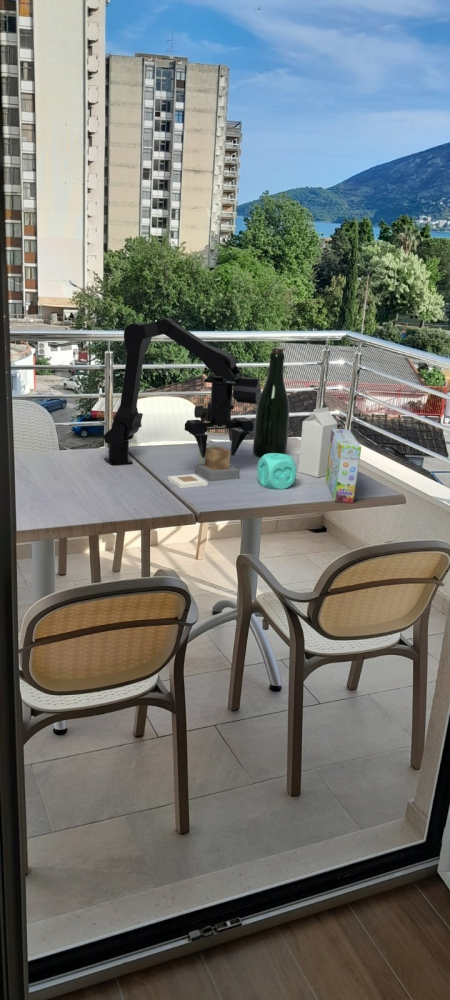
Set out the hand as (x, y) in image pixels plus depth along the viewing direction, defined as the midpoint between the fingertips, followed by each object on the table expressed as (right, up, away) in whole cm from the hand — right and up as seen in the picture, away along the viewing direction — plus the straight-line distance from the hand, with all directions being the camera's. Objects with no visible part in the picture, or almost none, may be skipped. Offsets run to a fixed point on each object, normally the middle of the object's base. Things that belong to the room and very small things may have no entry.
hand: (217, 456), depth 206 cm
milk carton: (+28, -4, +10) cm, 30 cm away
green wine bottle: (+16, +2, +28) cm, 32 cm away
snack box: (+33, -10, -6) cm, 34 cm away
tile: (-8, -7, -7) cm, 13 cm away
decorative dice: (+16, -8, -4) cm, 18 cm away
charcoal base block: (0, -6, +2) cm, 6 cm away
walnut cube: (0, -3, +1) cm, 3 cm away
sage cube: (-2, -1, +14) cm, 14 cm away
